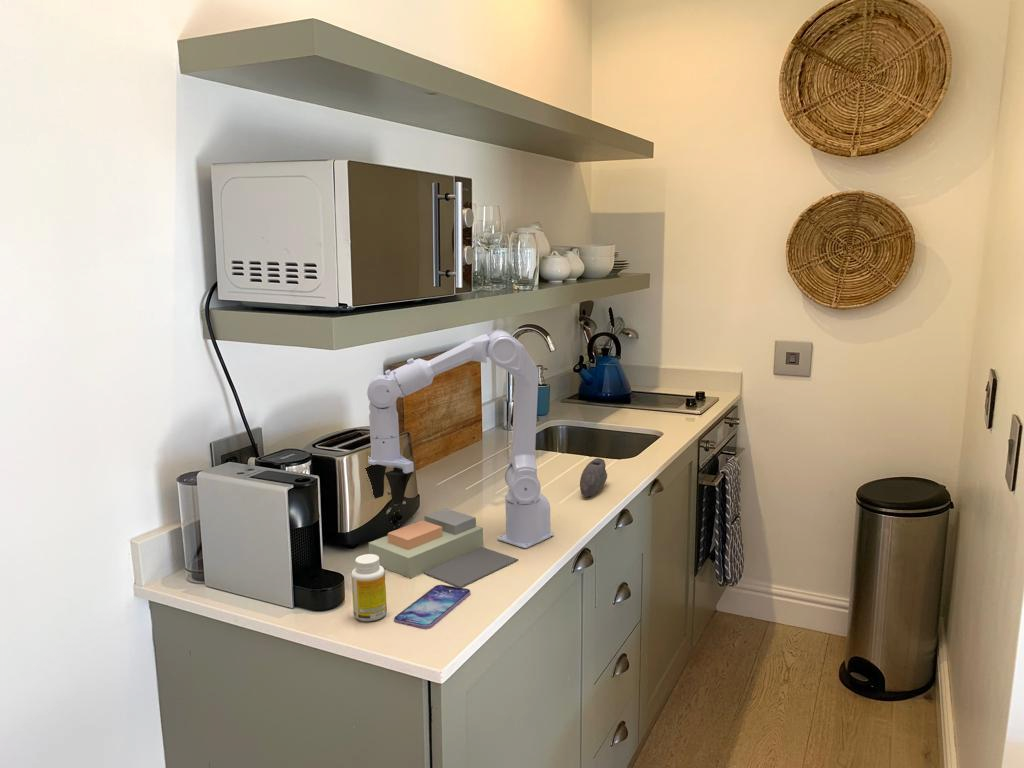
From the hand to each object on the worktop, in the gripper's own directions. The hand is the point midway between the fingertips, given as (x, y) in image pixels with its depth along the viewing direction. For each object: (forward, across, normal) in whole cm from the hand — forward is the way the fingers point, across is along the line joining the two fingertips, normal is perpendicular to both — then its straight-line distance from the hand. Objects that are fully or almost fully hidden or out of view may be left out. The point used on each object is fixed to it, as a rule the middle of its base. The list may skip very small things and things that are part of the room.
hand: (388, 500), depth 162 cm
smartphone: (+11, +26, -12) cm, 31 cm away
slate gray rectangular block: (+6, +8, +10) cm, 14 cm away
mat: (+10, +20, +4) cm, 22 cm away
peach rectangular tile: (+6, +8, 0) cm, 10 cm away
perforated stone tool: (+11, +11, +55) cm, 57 cm away
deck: (+10, +8, +3) cm, 13 cm away
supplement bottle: (+11, +20, -21) cm, 31 cm away
